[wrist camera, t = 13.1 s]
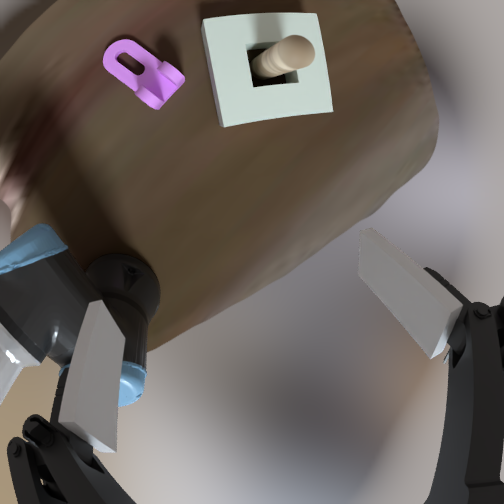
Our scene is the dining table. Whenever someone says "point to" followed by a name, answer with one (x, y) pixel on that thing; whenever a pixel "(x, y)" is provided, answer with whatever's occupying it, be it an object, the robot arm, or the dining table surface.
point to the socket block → (238, 71)
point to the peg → (283, 57)
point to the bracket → (152, 80)
